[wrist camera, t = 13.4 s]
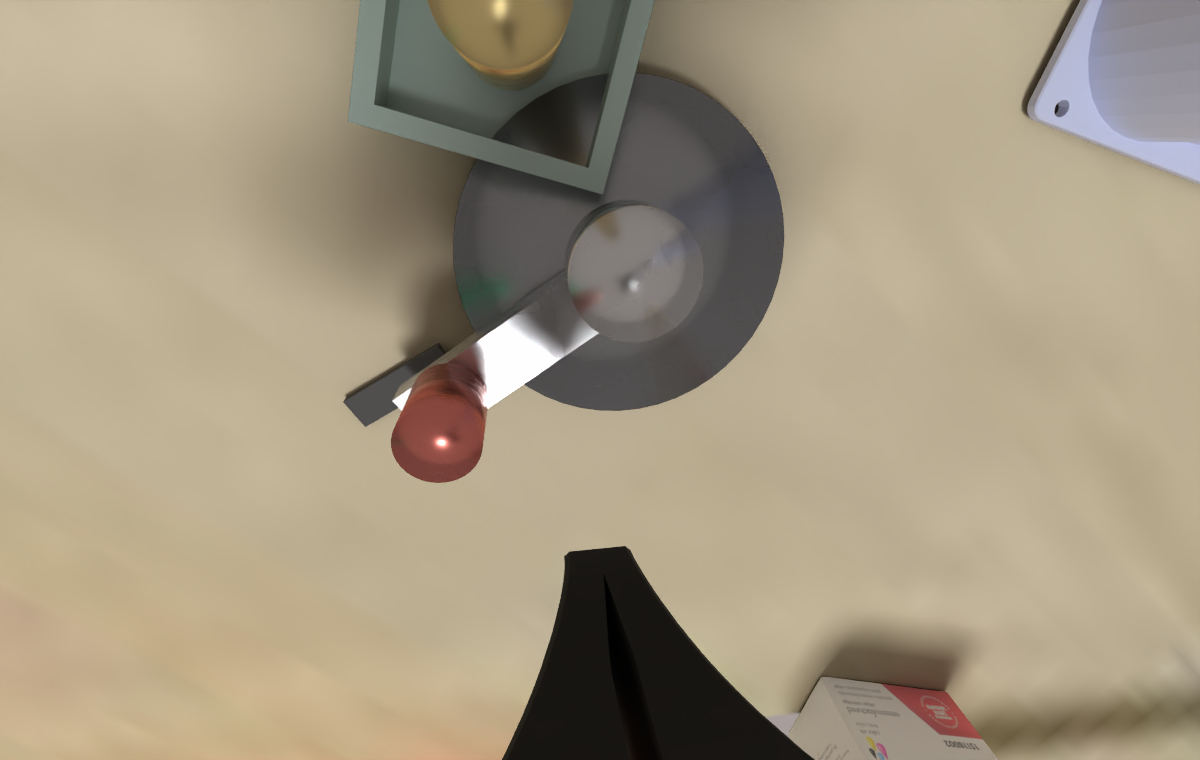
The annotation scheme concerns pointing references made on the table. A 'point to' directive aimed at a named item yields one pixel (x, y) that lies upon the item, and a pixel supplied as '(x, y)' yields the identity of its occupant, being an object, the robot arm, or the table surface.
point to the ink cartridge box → (884, 724)
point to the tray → (478, 110)
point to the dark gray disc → (638, 172)
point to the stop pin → (504, 36)
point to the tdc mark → (388, 388)
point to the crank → (550, 331)
